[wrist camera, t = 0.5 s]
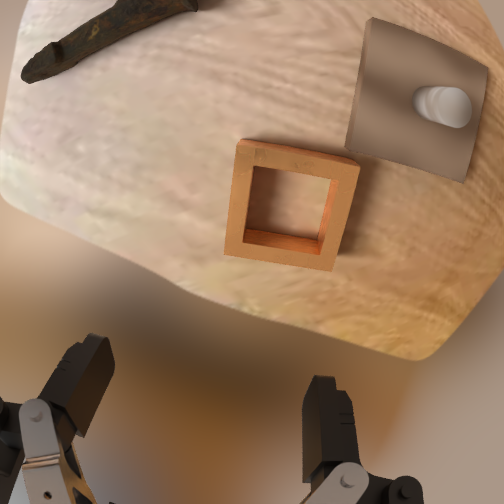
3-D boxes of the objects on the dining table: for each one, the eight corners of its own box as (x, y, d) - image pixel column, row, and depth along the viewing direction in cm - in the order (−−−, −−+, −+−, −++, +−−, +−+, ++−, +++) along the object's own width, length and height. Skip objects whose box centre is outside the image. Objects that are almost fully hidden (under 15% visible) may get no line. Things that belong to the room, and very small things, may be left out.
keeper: (366, 21, 20) (392, 2, 14) (477, 67, 20) (520, 68, 14) (344, 146, 26) (364, 164, 19) (453, 177, 26) (491, 203, 19)
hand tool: (194, -21, 19) (179, -39, 15) (203, 13, 21) (189, -1, 17) (36, 58, 22) (8, 60, 18) (42, 89, 24) (14, 93, 20)
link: (241, 138, 26) (236, 144, 23) (352, 159, 26) (360, 167, 23) (228, 239, 31) (223, 254, 28) (327, 255, 31) (331, 271, 28)
